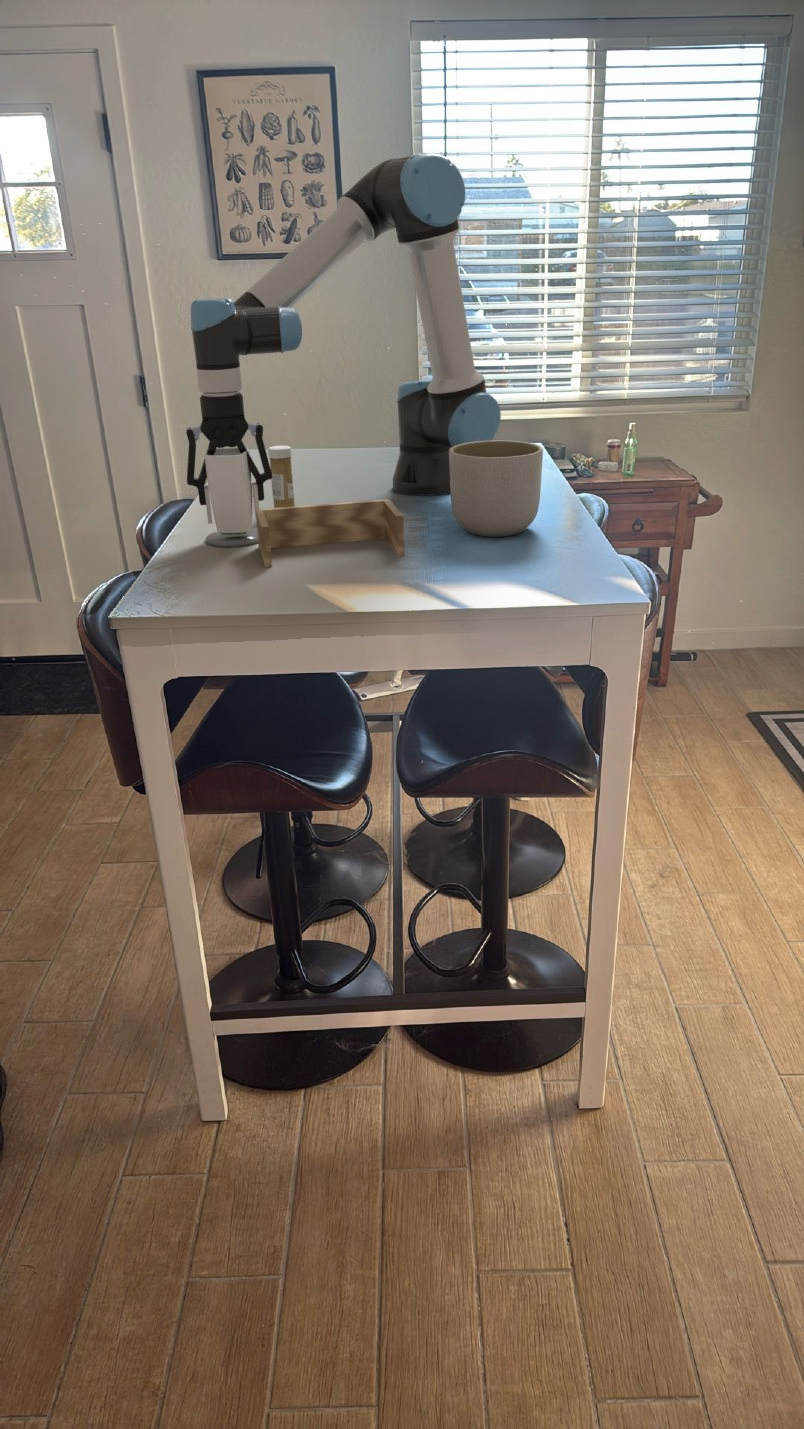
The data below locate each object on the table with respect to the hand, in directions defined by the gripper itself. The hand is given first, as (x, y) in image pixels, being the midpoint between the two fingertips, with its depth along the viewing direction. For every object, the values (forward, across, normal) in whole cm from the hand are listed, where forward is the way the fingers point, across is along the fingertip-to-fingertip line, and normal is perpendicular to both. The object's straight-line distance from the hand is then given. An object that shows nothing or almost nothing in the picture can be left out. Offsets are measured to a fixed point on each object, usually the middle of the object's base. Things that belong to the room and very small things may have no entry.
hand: (234, 519), depth 185 cm
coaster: (+4, 0, 0) cm, 4 cm away
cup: (+2, 0, 0) cm, 2 cm away
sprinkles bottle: (+4, -11, -17) cm, 21 cm away
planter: (+4, -48, +9) cm, 49 cm away
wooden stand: (+4, -16, +14) cm, 21 cm away
